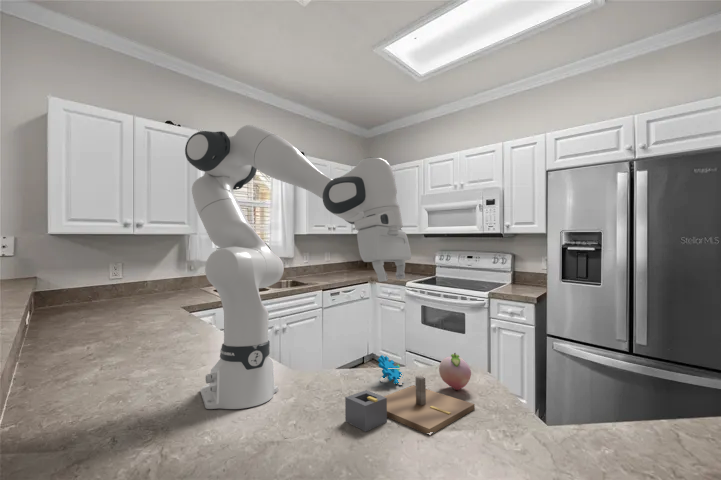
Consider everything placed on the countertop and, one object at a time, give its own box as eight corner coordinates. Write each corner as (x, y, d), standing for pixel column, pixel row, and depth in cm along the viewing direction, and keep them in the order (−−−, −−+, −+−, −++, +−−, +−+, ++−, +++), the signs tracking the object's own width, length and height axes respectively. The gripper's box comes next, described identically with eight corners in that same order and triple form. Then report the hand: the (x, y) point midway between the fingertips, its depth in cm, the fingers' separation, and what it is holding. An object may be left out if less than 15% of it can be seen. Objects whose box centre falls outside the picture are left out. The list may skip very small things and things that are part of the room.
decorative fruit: (437, 384, 93) (436, 348, 94) (466, 384, 93) (464, 349, 94) (442, 396, 84) (441, 356, 85) (474, 396, 83) (473, 357, 84)
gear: (396, 385, 88) (375, 354, 93) (382, 398, 89) (362, 368, 94) (412, 379, 97) (392, 352, 102) (398, 392, 98) (379, 364, 103)
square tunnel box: (345, 421, 70) (345, 395, 70) (366, 412, 74) (366, 388, 75) (365, 431, 65) (365, 403, 66) (387, 421, 69) (386, 395, 70)
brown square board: (366, 408, 77) (366, 376, 77) (413, 389, 89) (413, 362, 90) (429, 435, 63) (428, 397, 64) (474, 409, 76) (473, 377, 76)
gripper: (390, 229, 88) (399, 279, 86) (349, 221, 70) (358, 284, 68) (412, 224, 84) (421, 276, 82) (374, 215, 67) (384, 281, 65)
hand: (392, 280), depth 75 cm, fingers open, 8 cm apart
